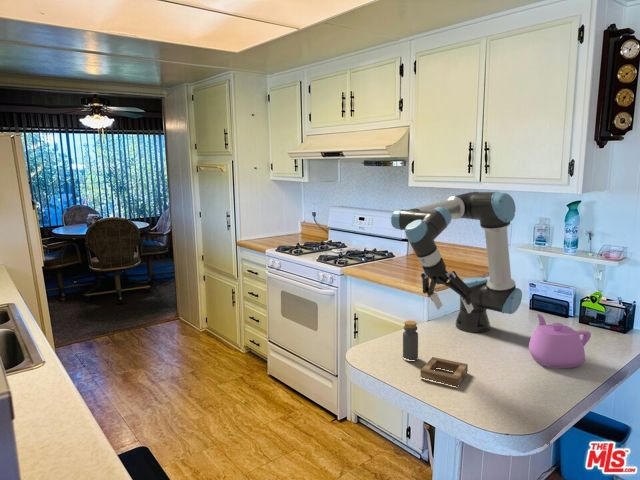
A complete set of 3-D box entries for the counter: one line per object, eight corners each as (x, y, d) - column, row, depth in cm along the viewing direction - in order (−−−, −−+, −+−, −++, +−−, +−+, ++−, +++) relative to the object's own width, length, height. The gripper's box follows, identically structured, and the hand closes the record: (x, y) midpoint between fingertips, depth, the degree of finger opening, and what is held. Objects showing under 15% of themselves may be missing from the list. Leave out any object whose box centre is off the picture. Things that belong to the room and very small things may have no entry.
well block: (432, 365, 168) (432, 356, 168) (467, 373, 161) (467, 364, 161) (420, 379, 158) (420, 370, 157) (457, 388, 150) (457, 378, 150)
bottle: (403, 355, 178) (403, 319, 176) (418, 356, 176) (418, 320, 174) (401, 361, 173) (401, 324, 170) (417, 362, 171) (417, 325, 169)
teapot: (601, 370, 160) (604, 331, 158) (543, 372, 161) (545, 332, 158) (567, 345, 183) (569, 310, 180) (516, 347, 183) (517, 312, 181)
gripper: (399, 267, 163) (422, 312, 169) (455, 268, 143) (479, 319, 149) (410, 255, 167) (433, 300, 173) (467, 255, 146) (490, 305, 153)
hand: (454, 309), depth 161 cm, fingers open, 13 cm apart
